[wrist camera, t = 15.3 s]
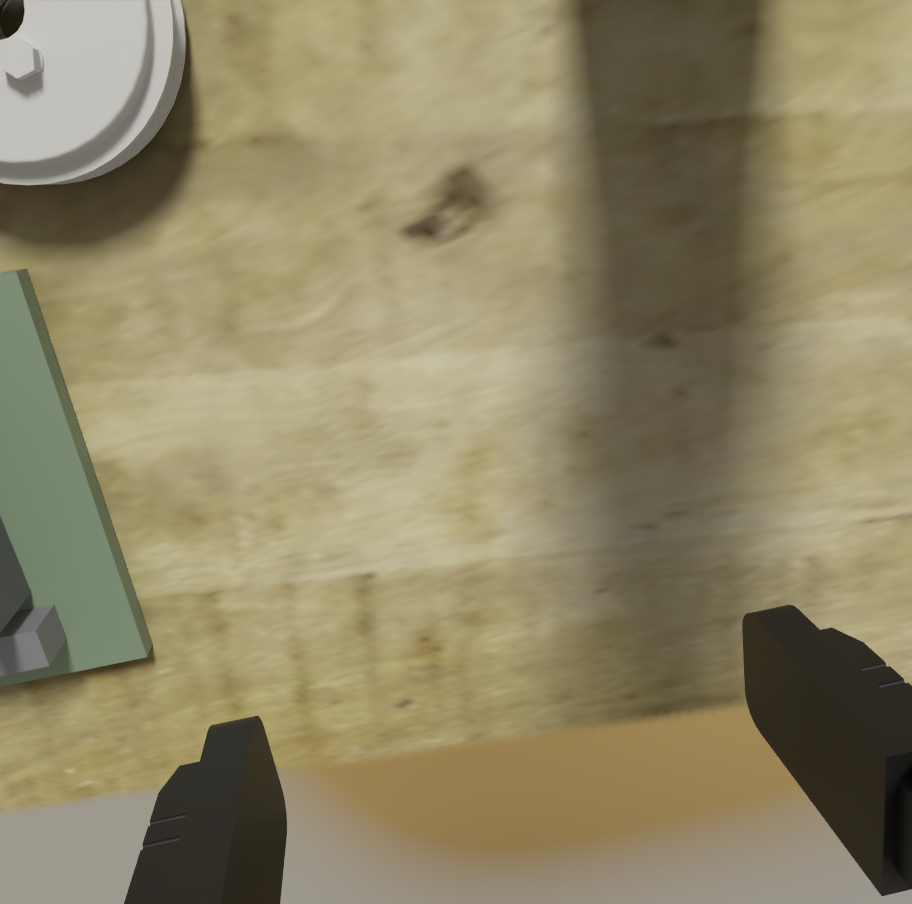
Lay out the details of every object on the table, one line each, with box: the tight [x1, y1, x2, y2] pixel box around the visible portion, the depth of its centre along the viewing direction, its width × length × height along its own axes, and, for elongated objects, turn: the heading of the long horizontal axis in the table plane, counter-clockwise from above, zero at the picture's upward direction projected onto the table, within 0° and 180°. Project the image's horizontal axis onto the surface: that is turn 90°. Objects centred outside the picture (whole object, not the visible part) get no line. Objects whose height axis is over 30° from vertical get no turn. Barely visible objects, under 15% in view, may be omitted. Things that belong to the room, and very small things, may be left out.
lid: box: [0, 0, 186, 185], centre depth 31 cm, size 13×13×5 cm
